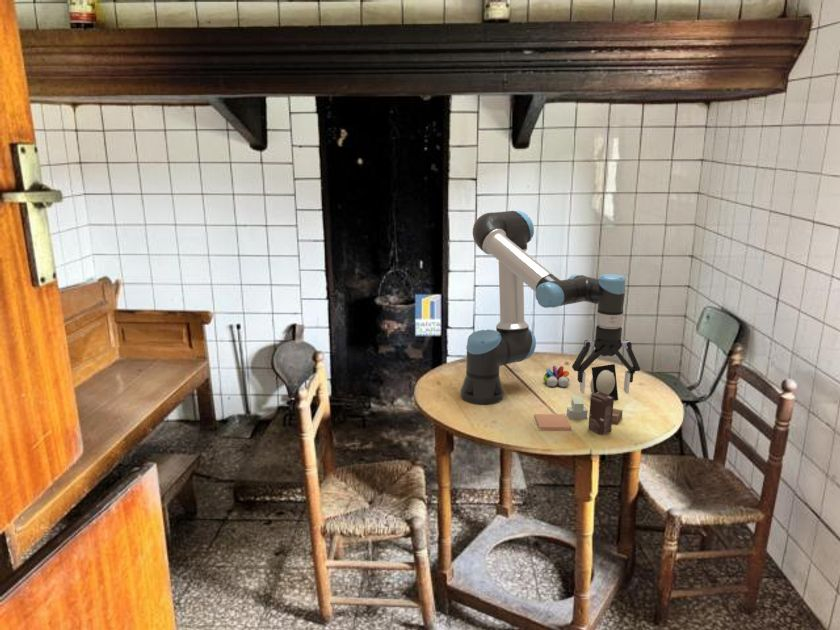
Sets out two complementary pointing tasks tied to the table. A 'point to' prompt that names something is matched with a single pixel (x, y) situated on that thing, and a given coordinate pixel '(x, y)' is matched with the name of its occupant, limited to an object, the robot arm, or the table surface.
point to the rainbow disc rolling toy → (556, 377)
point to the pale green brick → (577, 404)
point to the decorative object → (604, 380)
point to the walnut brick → (616, 416)
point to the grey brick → (576, 414)
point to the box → (601, 412)
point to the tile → (552, 422)
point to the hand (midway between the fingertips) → (604, 392)
